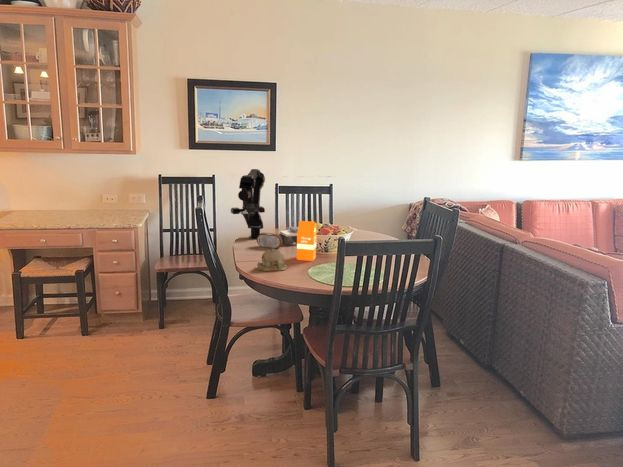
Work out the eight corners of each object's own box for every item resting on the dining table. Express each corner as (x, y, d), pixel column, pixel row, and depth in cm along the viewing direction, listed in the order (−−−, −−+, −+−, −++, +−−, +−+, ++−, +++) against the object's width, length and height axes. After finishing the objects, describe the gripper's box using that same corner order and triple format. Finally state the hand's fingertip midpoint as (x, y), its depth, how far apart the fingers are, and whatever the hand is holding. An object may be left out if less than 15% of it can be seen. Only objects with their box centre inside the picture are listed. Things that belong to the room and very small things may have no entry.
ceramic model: (281, 264, 235) (282, 244, 233) (290, 270, 225) (290, 250, 223) (255, 266, 229) (255, 247, 227) (262, 273, 219) (262, 252, 217)
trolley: (277, 242, 280) (278, 227, 278) (297, 240, 285) (297, 226, 283) (284, 246, 270) (284, 231, 268) (304, 244, 276) (304, 229, 274)
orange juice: (313, 261, 241) (314, 223, 237) (296, 259, 243) (297, 222, 239) (315, 257, 249) (317, 220, 244) (299, 255, 250) (300, 219, 246)
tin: (282, 248, 266) (282, 233, 264) (280, 249, 263) (281, 235, 261) (258, 246, 269) (258, 231, 268) (256, 247, 266) (256, 232, 265)
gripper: (235, 200, 254) (236, 228, 257) (268, 199, 262) (268, 226, 265) (230, 197, 263) (230, 224, 267) (261, 196, 271) (261, 222, 275)
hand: (247, 224), depth 268 cm, fingers closed
